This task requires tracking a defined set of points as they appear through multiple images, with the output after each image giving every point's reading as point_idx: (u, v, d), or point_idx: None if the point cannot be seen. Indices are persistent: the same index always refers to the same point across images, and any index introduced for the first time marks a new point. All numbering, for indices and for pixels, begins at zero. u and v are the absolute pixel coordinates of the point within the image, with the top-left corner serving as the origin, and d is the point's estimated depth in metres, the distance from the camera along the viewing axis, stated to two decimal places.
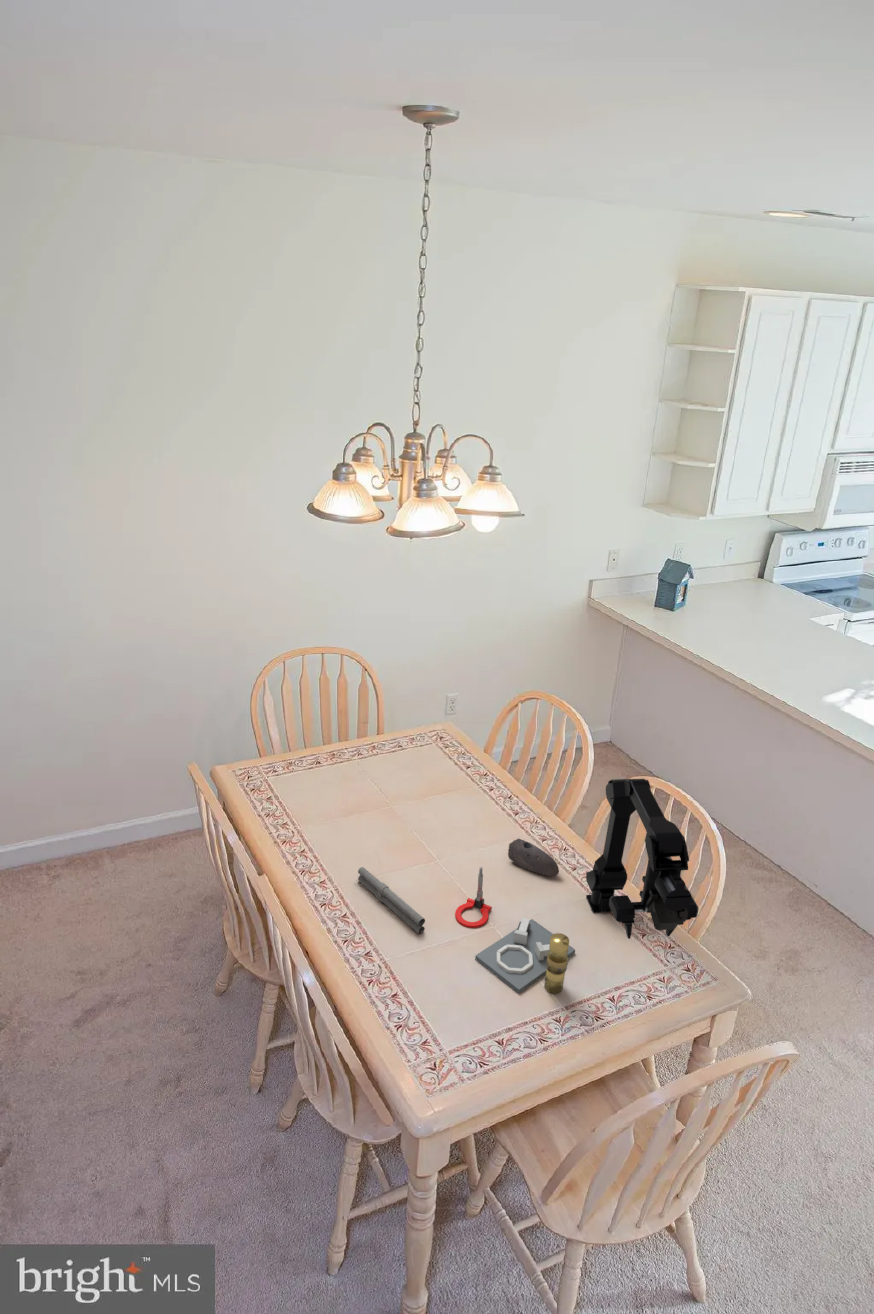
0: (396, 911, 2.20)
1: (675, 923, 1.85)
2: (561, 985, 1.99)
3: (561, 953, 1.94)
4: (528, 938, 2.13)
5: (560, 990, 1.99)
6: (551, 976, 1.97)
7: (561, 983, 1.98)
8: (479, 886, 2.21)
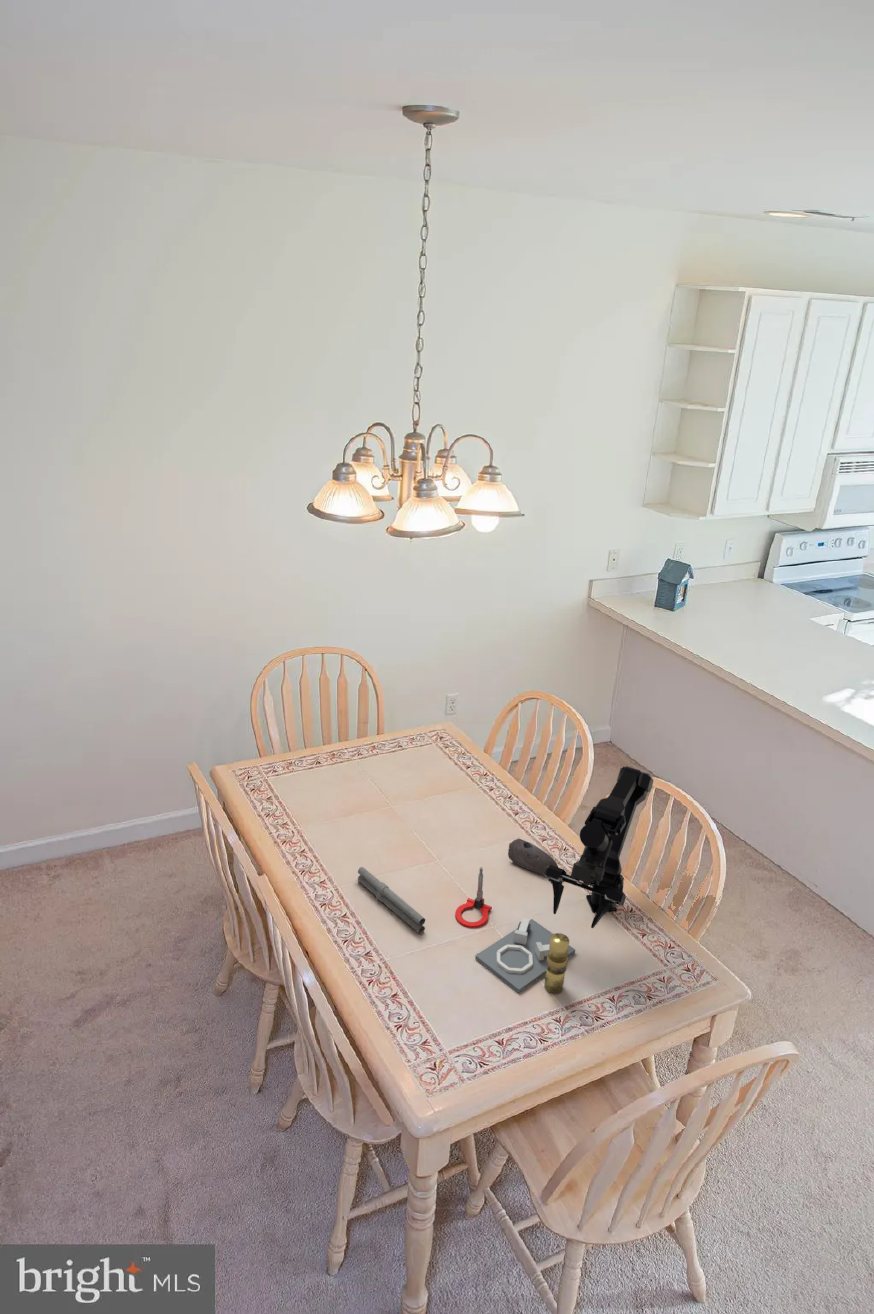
0: (396, 911, 2.20)
1: (588, 870, 1.97)
2: (561, 985, 1.99)
3: (561, 953, 1.94)
4: (528, 938, 2.13)
5: (560, 990, 1.99)
6: (551, 976, 1.97)
7: (561, 983, 1.98)
8: (479, 886, 2.21)
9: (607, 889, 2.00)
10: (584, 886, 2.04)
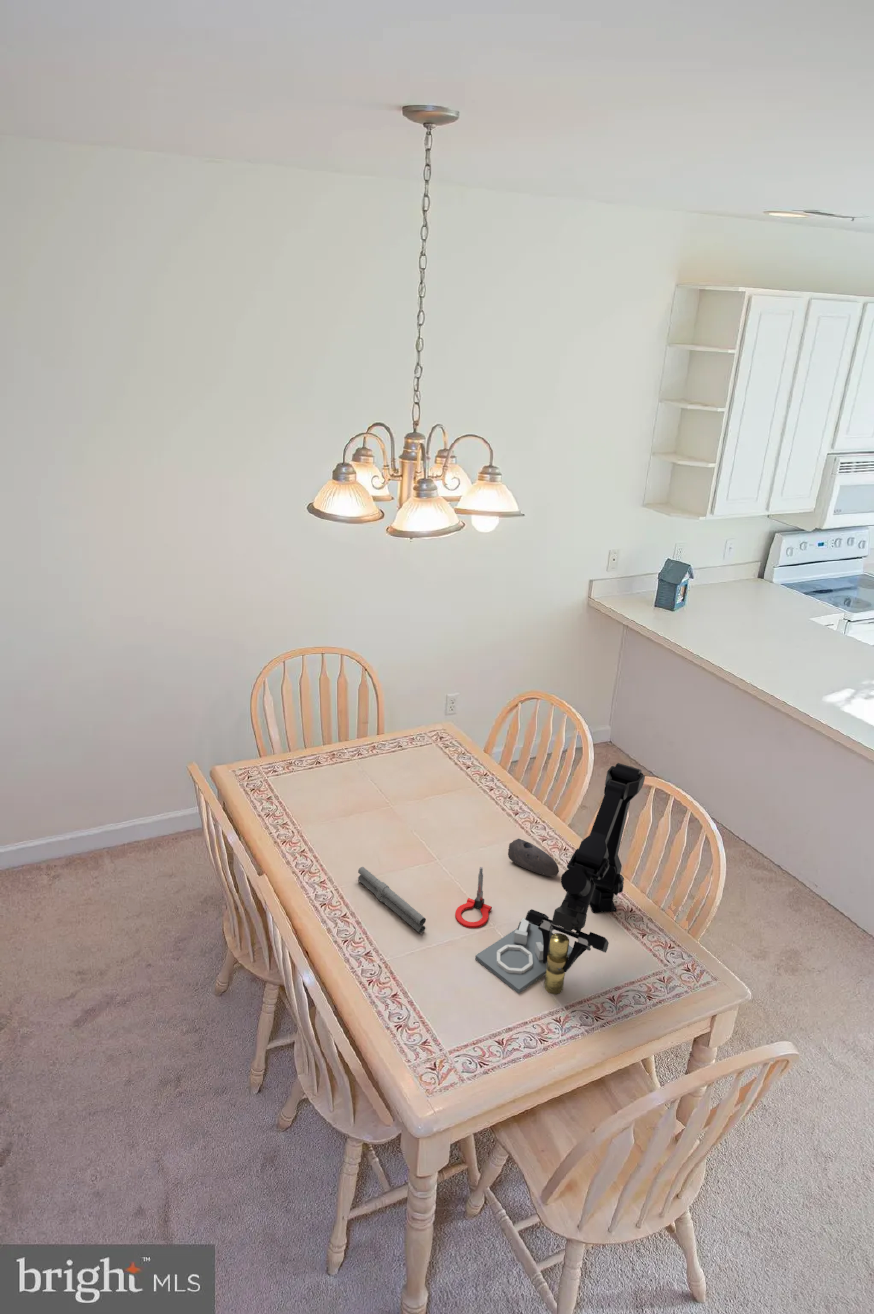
0: (397, 911, 2.20)
1: (569, 916, 1.92)
2: (561, 985, 1.99)
3: (561, 953, 1.94)
4: (528, 938, 2.13)
5: (560, 990, 1.99)
6: (551, 976, 1.97)
7: (561, 983, 1.98)
8: (479, 886, 2.21)
9: (589, 936, 1.94)
10: (557, 928, 2.00)
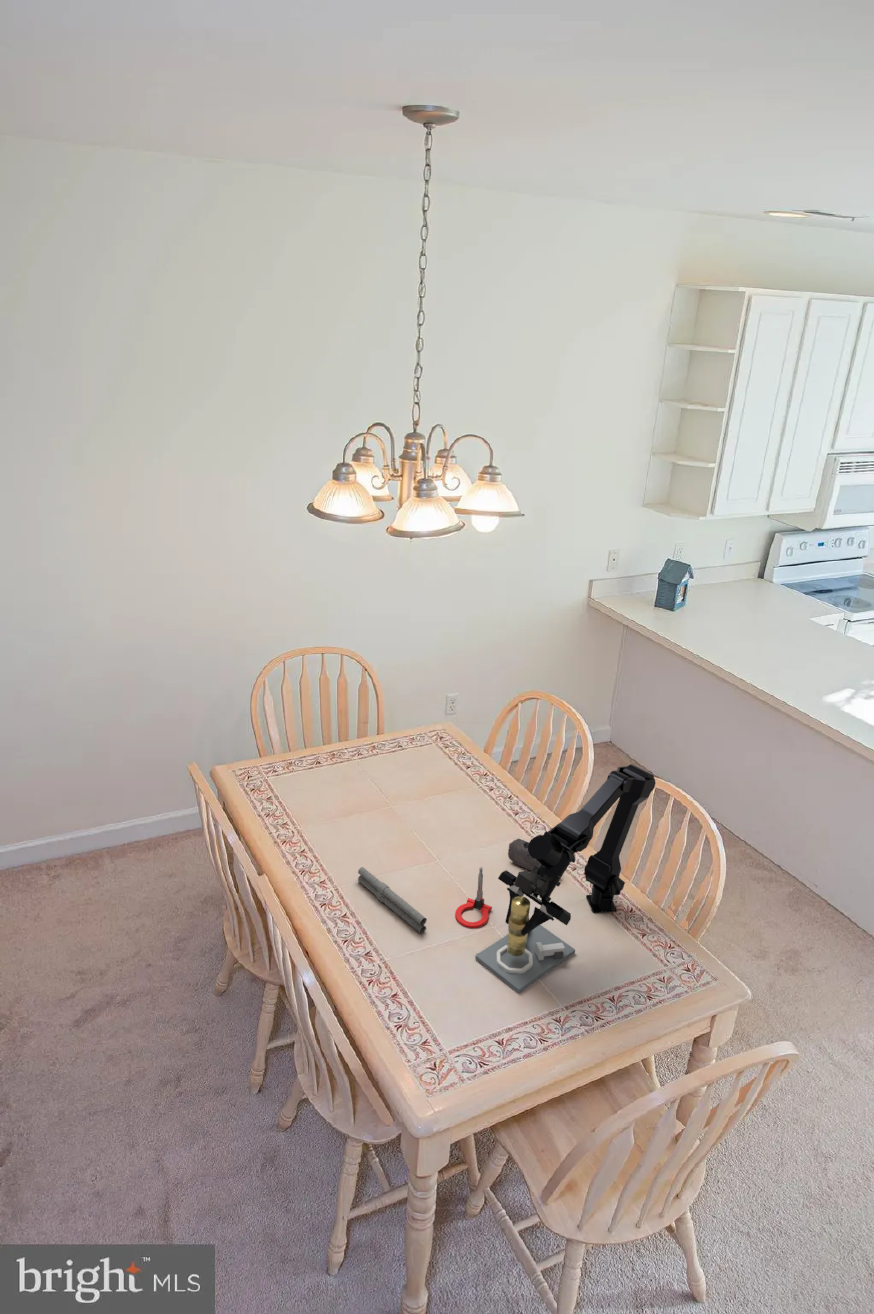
0: (397, 911, 2.20)
1: (529, 880, 1.96)
2: (521, 949, 2.03)
3: (519, 915, 1.98)
4: (528, 938, 2.13)
5: (520, 953, 2.03)
6: (511, 937, 2.02)
7: (521, 946, 2.02)
8: (479, 886, 2.21)
9: (549, 904, 1.97)
10: (526, 893, 2.04)
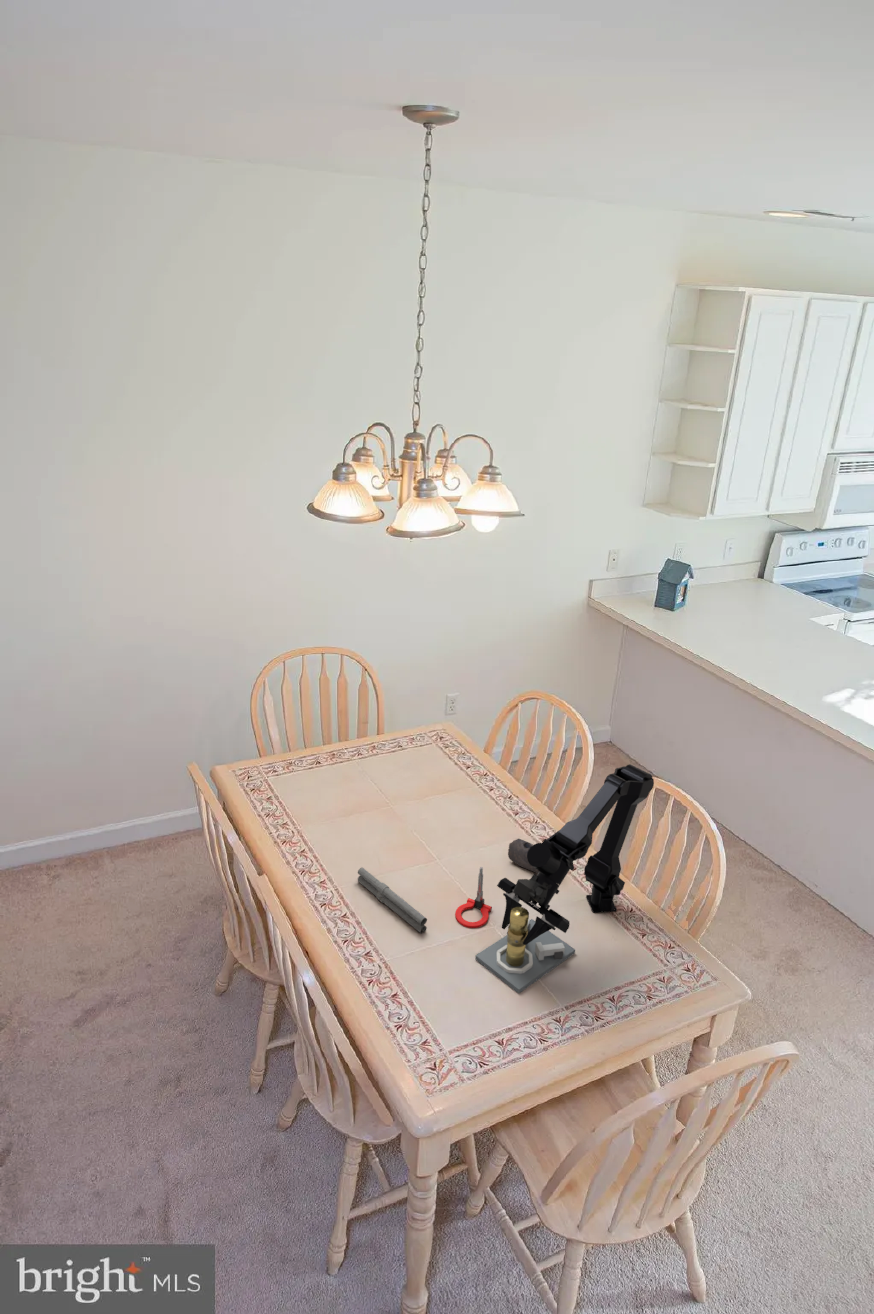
0: (397, 911, 2.20)
1: (528, 888, 1.97)
2: (519, 959, 2.04)
3: (518, 925, 2.00)
4: None
5: (518, 963, 2.05)
6: (509, 947, 2.03)
7: (519, 956, 2.04)
8: (479, 886, 2.21)
9: (547, 912, 1.98)
10: (527, 902, 2.04)
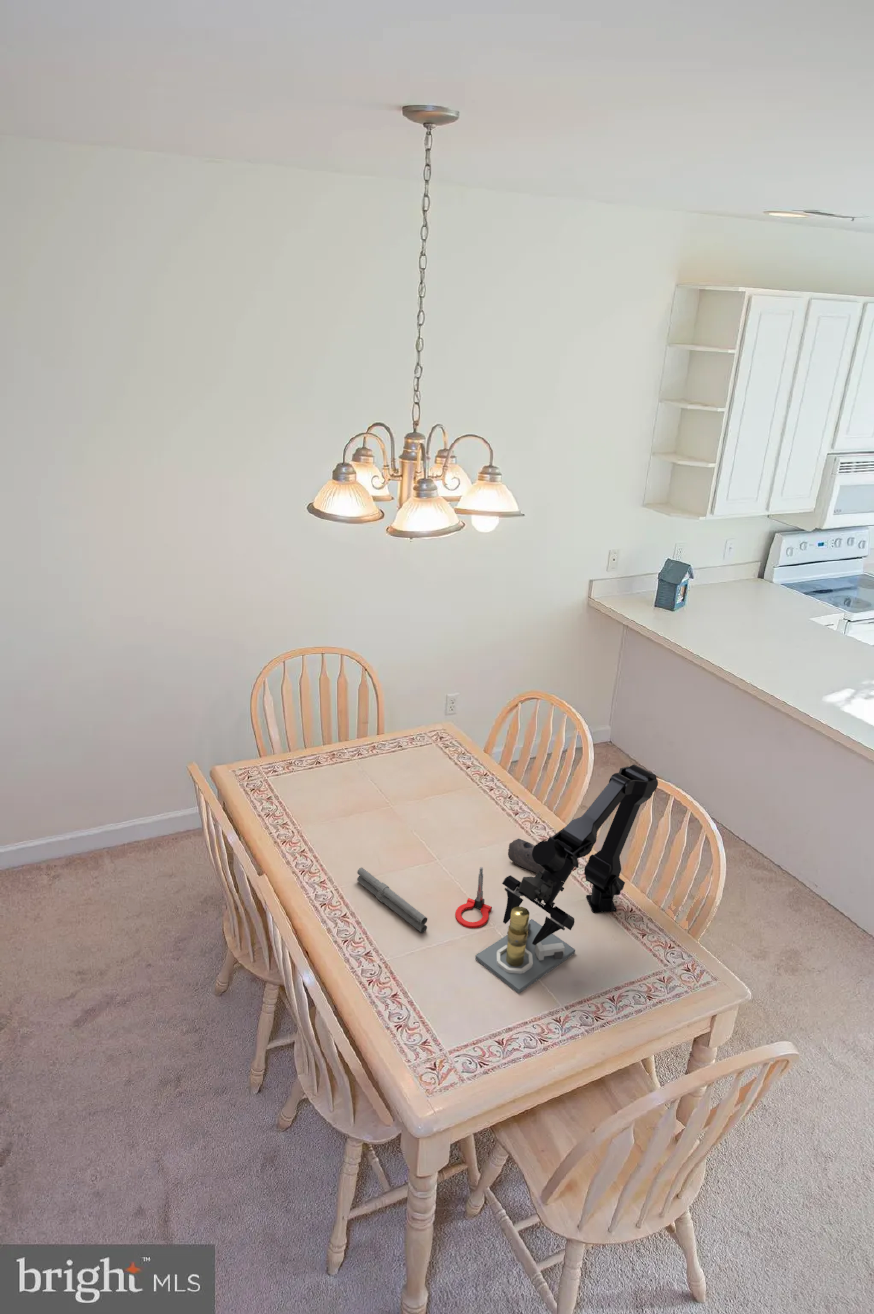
0: (397, 911, 2.20)
1: (533, 885, 1.98)
2: (519, 959, 2.04)
3: (518, 925, 2.00)
4: (528, 938, 2.13)
5: (519, 963, 2.05)
6: (510, 947, 2.03)
7: (519, 956, 2.04)
8: (479, 886, 2.21)
9: (553, 909, 1.99)
10: (536, 902, 2.05)
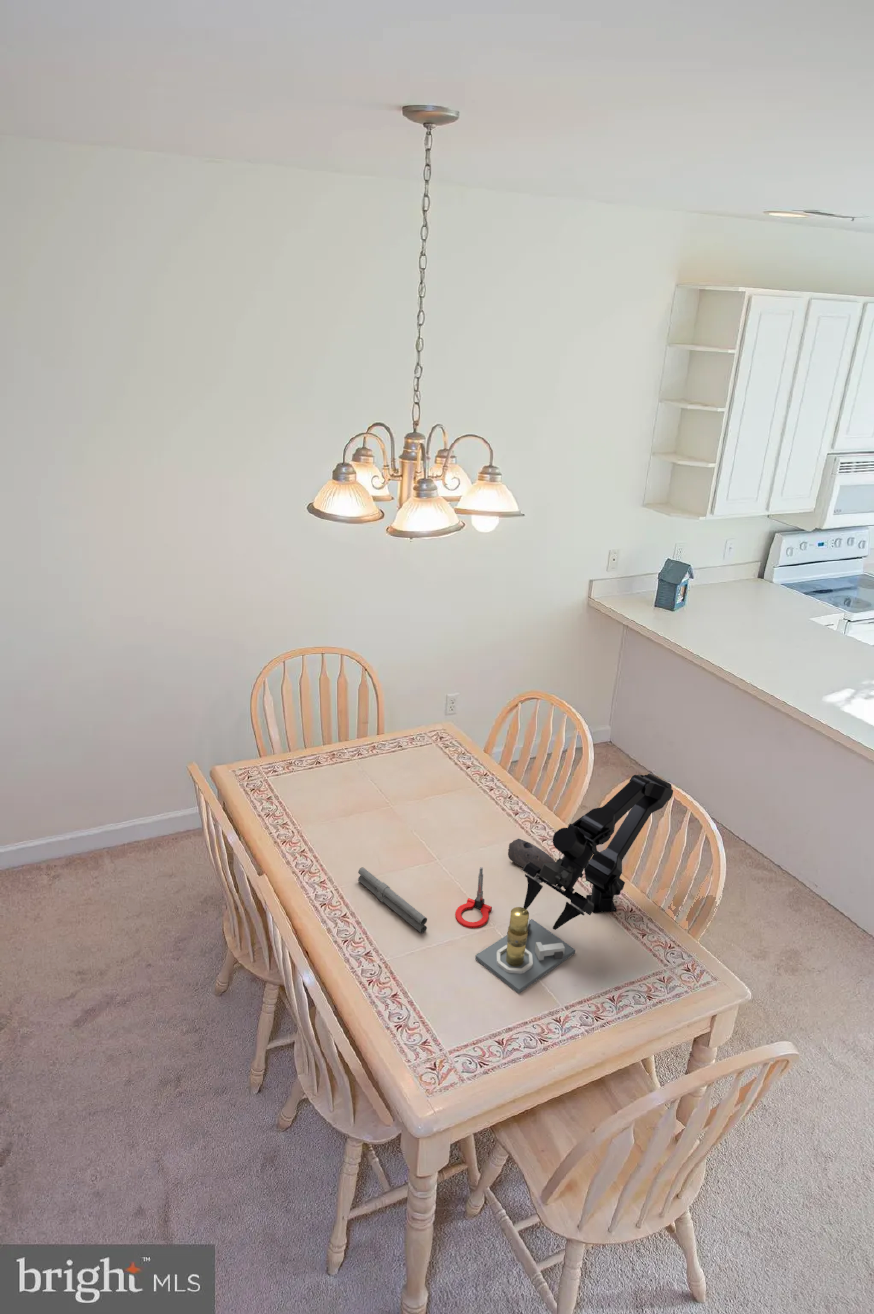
0: (398, 911, 2.20)
1: (554, 871, 2.03)
2: (519, 959, 2.04)
3: (518, 926, 2.00)
4: (528, 938, 2.13)
5: (518, 963, 2.05)
6: (509, 947, 2.03)
7: (519, 956, 2.04)
8: (479, 886, 2.21)
9: (573, 895, 2.03)
10: (556, 888, 2.09)
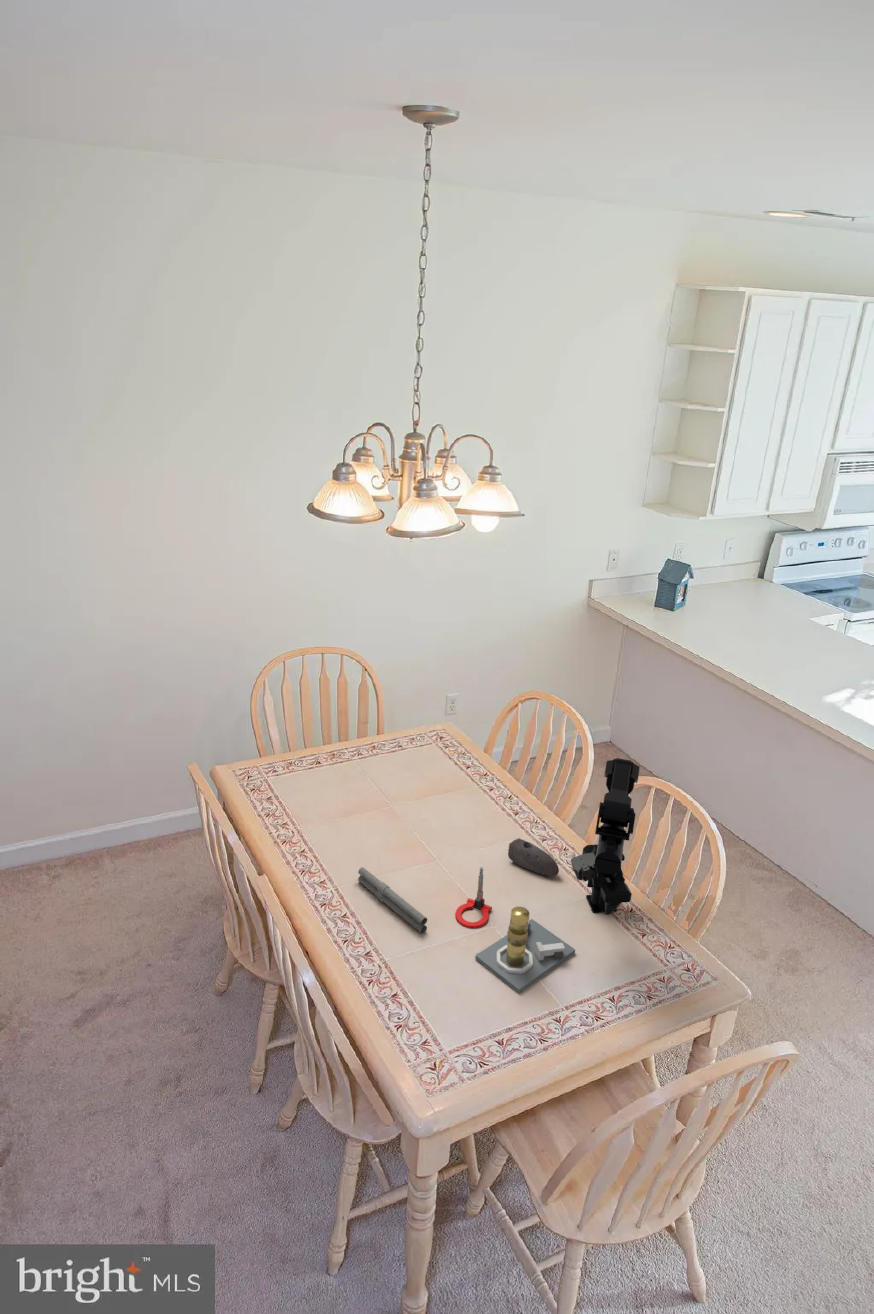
0: (398, 911, 2.20)
1: (574, 869, 2.02)
2: (519, 959, 2.04)
3: (519, 925, 2.00)
4: (528, 938, 2.13)
5: (518, 963, 2.05)
6: (510, 947, 2.03)
7: (519, 956, 2.04)
8: (479, 886, 2.21)
9: (601, 887, 2.00)
10: None
